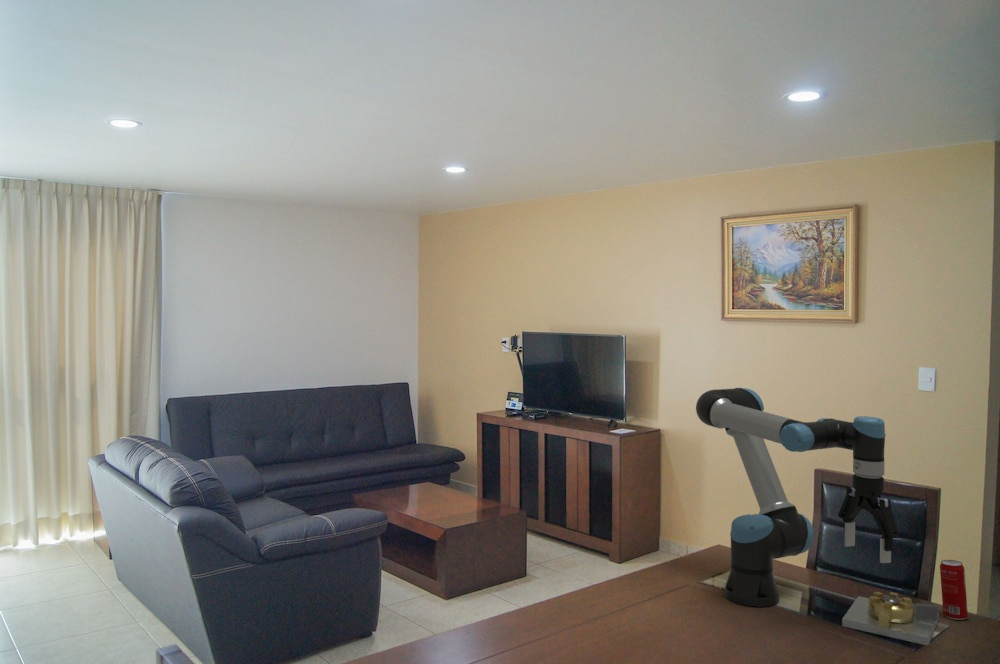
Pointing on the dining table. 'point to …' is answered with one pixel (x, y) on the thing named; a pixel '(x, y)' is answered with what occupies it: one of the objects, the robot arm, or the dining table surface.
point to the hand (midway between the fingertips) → (866, 554)
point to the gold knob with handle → (890, 609)
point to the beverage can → (953, 589)
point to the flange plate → (910, 631)
